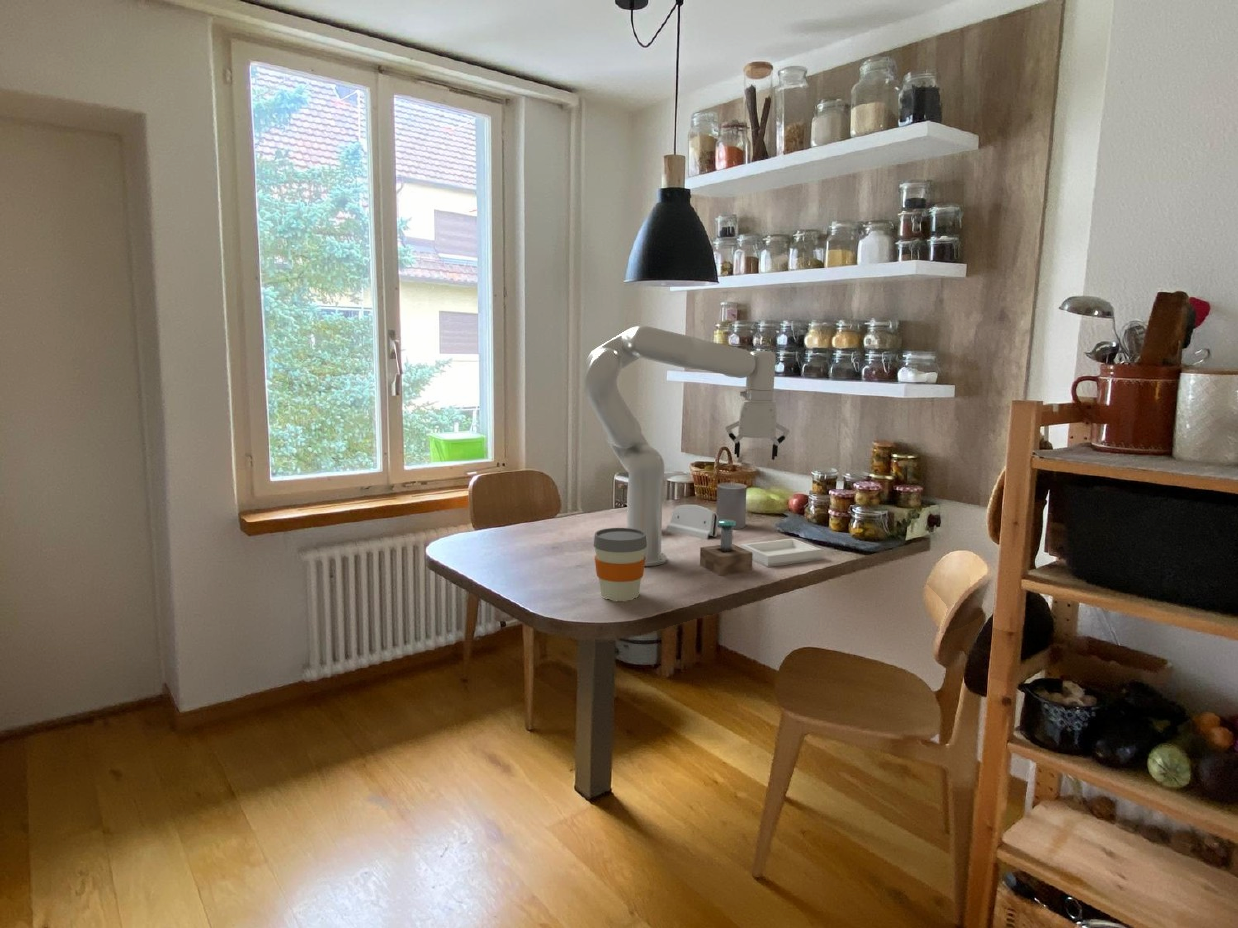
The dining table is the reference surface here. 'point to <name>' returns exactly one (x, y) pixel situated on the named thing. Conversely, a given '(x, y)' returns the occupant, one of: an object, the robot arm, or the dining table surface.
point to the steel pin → (726, 535)
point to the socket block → (726, 560)
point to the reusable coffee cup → (620, 562)
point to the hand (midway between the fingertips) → (755, 458)
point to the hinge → (693, 521)
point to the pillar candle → (731, 503)
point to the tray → (782, 552)
